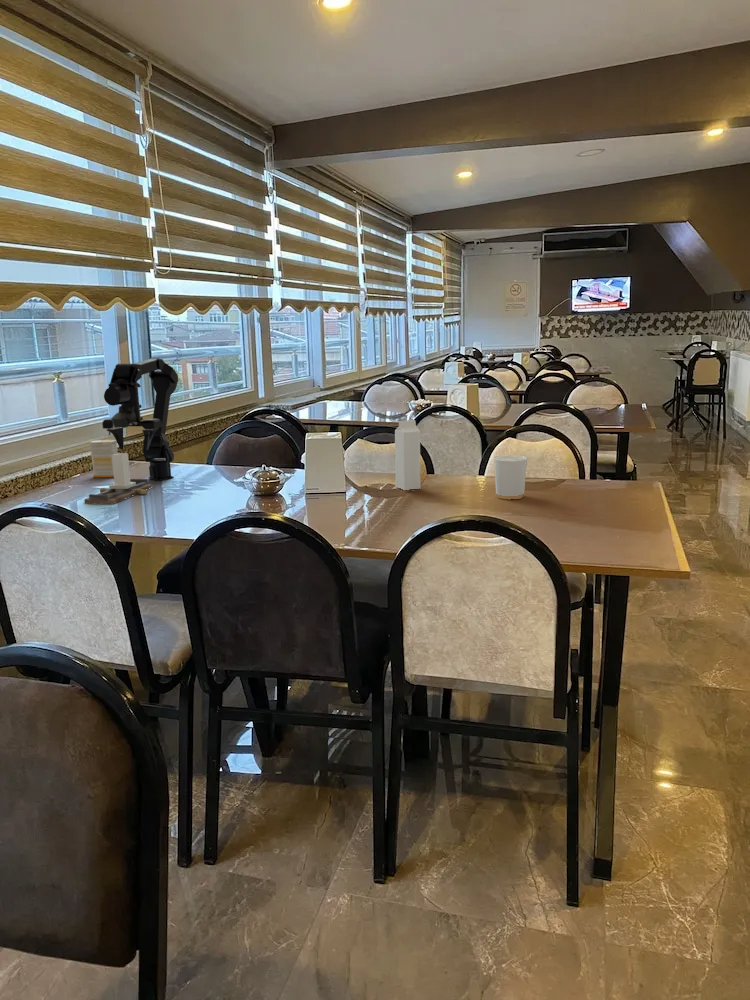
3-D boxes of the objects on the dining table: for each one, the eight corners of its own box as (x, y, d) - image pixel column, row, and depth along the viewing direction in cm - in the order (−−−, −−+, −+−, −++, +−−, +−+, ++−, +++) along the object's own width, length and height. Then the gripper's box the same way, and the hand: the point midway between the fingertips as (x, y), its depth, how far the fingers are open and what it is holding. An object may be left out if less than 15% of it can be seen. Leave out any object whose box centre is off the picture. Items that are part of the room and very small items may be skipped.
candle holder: (494, 493, 236) (494, 454, 234) (526, 493, 234) (527, 455, 232) (492, 500, 227) (493, 460, 224) (526, 501, 225) (527, 461, 222)
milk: (395, 488, 246) (394, 420, 241) (411, 486, 249) (410, 419, 244) (404, 491, 241) (403, 422, 236) (421, 489, 243) (420, 420, 238)
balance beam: (118, 486, 258) (118, 478, 258) (161, 487, 255) (161, 479, 254) (75, 503, 235) (74, 494, 234) (122, 504, 231) (121, 495, 230)
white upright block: (119, 487, 250) (116, 452, 247) (136, 488, 248) (133, 452, 246) (109, 491, 244) (106, 455, 241) (126, 492, 243) (123, 455, 240)
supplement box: (120, 474, 278) (117, 439, 275) (115, 477, 274) (111, 441, 271) (99, 475, 279) (95, 439, 276) (93, 477, 275) (89, 441, 272)
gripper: (90, 404, 243) (95, 453, 247) (143, 405, 239) (147, 454, 242) (109, 401, 254) (114, 447, 257) (160, 401, 249) (164, 448, 253)
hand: (134, 449), depth 252 cm, fingers open, 9 cm apart
